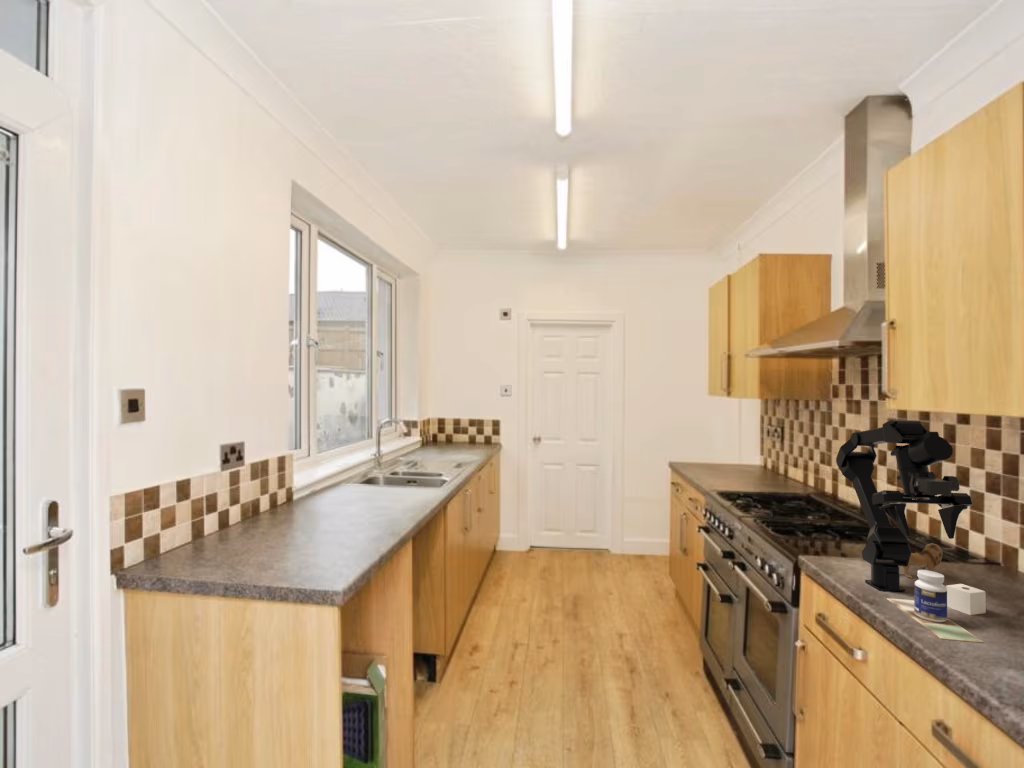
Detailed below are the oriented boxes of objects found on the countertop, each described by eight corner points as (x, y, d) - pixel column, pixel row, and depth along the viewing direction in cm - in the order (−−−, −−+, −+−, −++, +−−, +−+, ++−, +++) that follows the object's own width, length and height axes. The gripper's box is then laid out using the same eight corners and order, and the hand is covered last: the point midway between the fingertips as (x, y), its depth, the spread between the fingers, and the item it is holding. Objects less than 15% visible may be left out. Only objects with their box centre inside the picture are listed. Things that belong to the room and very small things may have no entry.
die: (946, 606, 122) (946, 585, 122) (961, 604, 123) (961, 583, 123) (970, 615, 117) (970, 593, 117) (985, 613, 118) (985, 591, 118)
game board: (886, 599, 126) (886, 598, 126) (921, 601, 124) (921, 600, 124) (940, 638, 105) (940, 637, 105) (983, 642, 104) (983, 641, 104)
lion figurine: (931, 572, 146) (931, 540, 146) (949, 579, 140) (948, 546, 140) (882, 573, 145) (882, 541, 145) (898, 579, 139) (898, 546, 139)
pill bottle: (921, 621, 113) (921, 575, 113) (909, 610, 118) (909, 567, 118) (952, 625, 111) (952, 578, 111) (939, 614, 116) (939, 570, 117)
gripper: (890, 461, 117) (906, 531, 111) (981, 463, 114) (1001, 536, 109) (865, 471, 127) (877, 536, 121) (947, 474, 125) (964, 540, 119)
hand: (929, 537), depth 117 cm, fingers open, 9 cm apart
